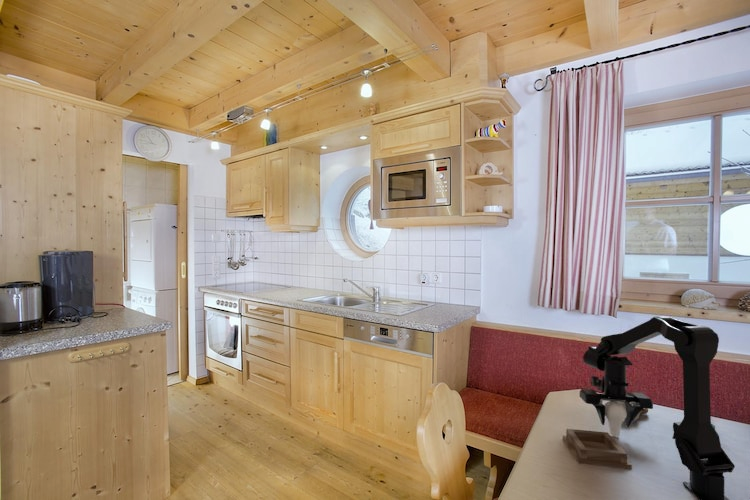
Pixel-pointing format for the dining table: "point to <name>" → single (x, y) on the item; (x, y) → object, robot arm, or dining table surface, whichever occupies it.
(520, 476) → the dining table surface
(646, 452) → the dining table surface
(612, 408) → the lightbulb
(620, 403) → the ceramic sculpture
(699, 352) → the robot arm
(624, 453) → the bulb holder
